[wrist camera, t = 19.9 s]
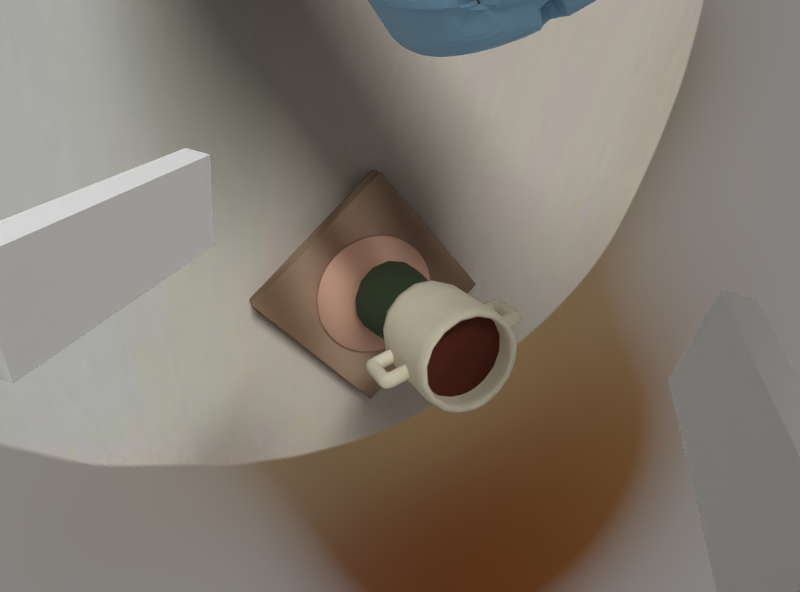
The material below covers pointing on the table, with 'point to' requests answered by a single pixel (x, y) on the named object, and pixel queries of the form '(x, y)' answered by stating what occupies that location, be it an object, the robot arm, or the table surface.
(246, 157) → the table surface
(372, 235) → the walnut board
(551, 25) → the table surface
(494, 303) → the character mug
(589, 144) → the table surface
